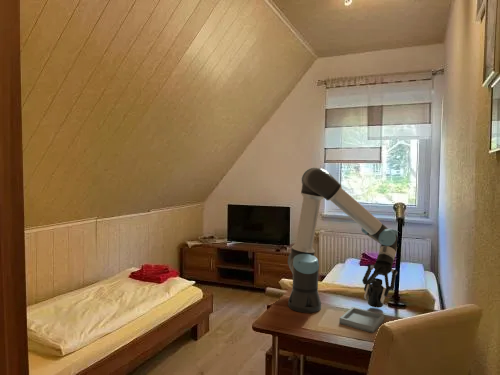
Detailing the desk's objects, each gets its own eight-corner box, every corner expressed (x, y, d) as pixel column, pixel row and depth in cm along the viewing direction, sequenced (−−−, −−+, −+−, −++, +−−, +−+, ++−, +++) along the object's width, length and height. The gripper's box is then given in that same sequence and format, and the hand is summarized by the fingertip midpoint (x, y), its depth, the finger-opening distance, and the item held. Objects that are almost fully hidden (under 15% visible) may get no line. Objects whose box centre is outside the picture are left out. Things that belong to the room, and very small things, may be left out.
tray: (339, 323, 154) (339, 317, 154) (352, 312, 166) (352, 306, 166) (372, 333, 146) (373, 327, 146) (384, 320, 158) (384, 314, 158)
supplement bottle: (384, 308, 166) (385, 282, 165) (368, 307, 168) (369, 281, 167) (382, 303, 173) (383, 278, 172) (366, 301, 174) (368, 276, 173)
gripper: (408, 265, 176) (397, 309, 164) (367, 258, 187) (354, 298, 175) (406, 257, 171) (394, 301, 159) (364, 250, 183) (350, 290, 171)
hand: (373, 299), depth 167 cm, fingers closed on supplement bottle, 7 cm apart
